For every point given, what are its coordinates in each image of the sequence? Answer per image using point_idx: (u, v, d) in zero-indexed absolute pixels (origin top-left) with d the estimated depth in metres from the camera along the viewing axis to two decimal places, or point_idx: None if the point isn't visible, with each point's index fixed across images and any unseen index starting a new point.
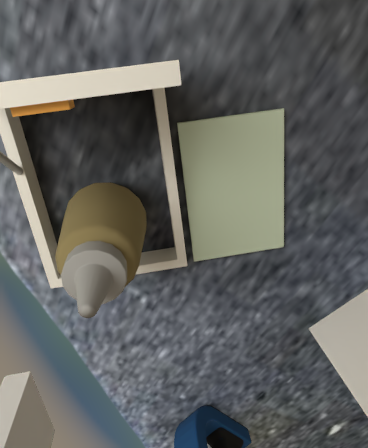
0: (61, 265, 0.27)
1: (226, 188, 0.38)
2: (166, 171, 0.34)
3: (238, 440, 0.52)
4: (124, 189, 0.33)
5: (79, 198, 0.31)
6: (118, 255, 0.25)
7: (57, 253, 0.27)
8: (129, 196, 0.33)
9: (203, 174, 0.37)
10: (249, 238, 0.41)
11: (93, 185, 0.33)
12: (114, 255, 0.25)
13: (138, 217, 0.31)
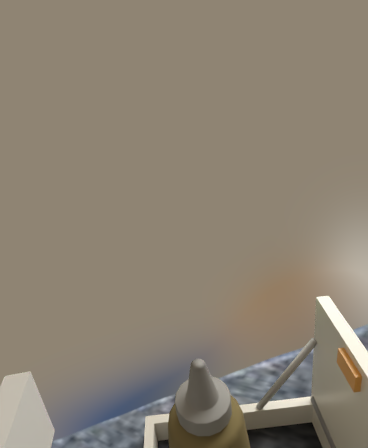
0: None
1: None
2: None
3: None
4: None
5: None
6: (220, 423, 0.27)
7: None
8: None
9: None
10: None
11: None
12: (223, 416, 0.27)
13: None
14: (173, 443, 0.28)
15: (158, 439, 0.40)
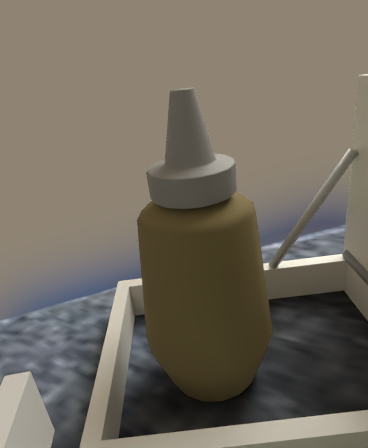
0: None
1: None
2: (306, 419, 0.17)
3: None
4: (266, 341, 0.20)
5: None
6: (219, 185, 0.17)
7: None
8: (258, 336, 0.19)
9: None
10: None
11: None
12: (223, 174, 0.17)
13: (233, 315, 0.18)
14: (143, 234, 0.18)
15: (135, 313, 0.30)
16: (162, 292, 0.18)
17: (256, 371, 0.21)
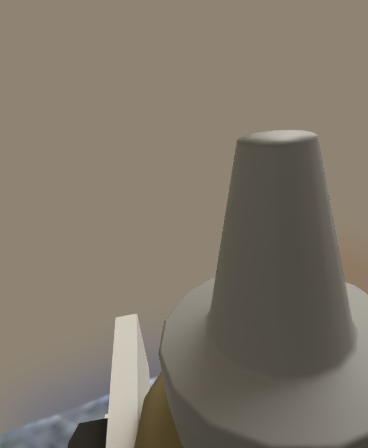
0: None
1: None
2: None
3: None
4: None
5: None
6: None
7: None
8: None
9: None
10: None
11: None
12: None
13: None
14: None
15: None
16: None
17: None
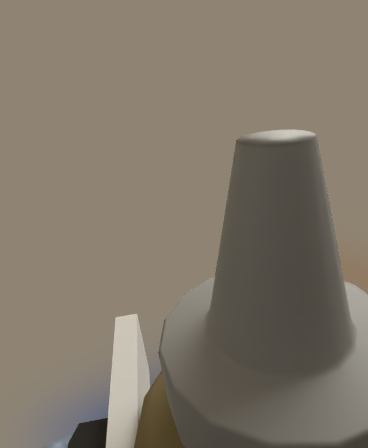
0: None
1: None
2: None
3: None
4: None
5: None
6: None
7: None
8: None
9: None
10: None
11: None
12: None
13: None
14: None
15: None
16: None
17: None
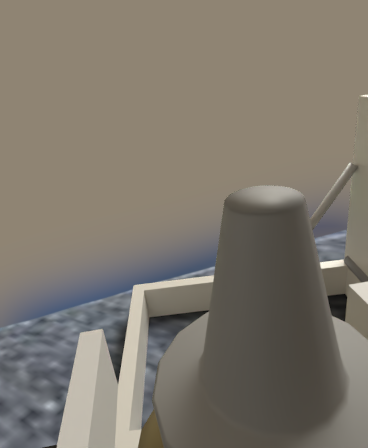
0: None
1: None
2: None
3: None
4: None
5: None
6: None
7: None
8: None
9: None
10: None
11: None
12: None
13: None
14: None
15: (150, 315, 0.32)
16: None
17: None
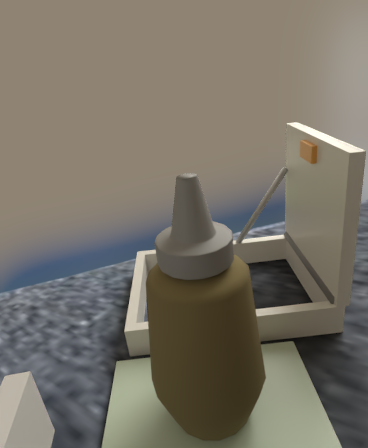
0: None
1: None
2: None
3: None
4: (259, 388, 0.22)
5: None
6: (218, 260, 0.19)
7: None
8: (252, 385, 0.22)
9: None
10: (129, 430, 0.25)
11: None
12: (222, 250, 0.19)
13: (230, 370, 0.20)
14: (152, 298, 0.20)
15: None
16: (167, 349, 0.20)
17: (250, 413, 0.24)
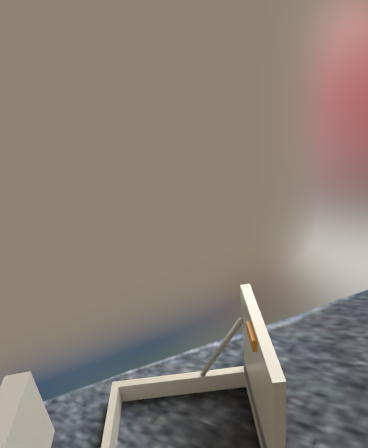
0: None
1: None
2: None
3: None
4: None
5: None
6: None
7: None
8: None
9: None
10: None
11: None
12: None
13: None
14: None
15: (122, 400, 0.50)
16: None
17: None
